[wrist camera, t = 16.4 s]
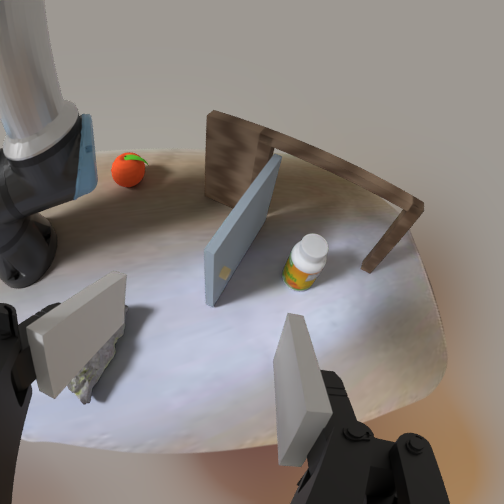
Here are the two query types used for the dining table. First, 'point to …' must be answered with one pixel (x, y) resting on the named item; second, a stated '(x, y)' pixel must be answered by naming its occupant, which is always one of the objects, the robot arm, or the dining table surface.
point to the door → (238, 231)
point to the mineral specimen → (95, 367)
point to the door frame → (265, 140)
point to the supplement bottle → (305, 262)
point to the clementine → (128, 169)
